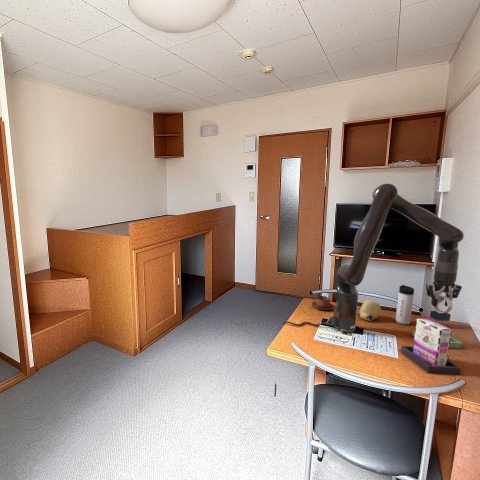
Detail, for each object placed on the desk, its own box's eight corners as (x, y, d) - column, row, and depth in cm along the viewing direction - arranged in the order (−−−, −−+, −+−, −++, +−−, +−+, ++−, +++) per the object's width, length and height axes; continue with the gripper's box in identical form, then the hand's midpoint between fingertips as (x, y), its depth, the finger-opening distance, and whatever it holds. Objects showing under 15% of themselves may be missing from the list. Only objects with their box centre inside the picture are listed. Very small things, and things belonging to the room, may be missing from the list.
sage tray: (429, 347, 144) (429, 341, 143) (411, 335, 155) (412, 330, 155) (461, 348, 142) (462, 343, 142) (441, 336, 154) (442, 331, 153)
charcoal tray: (427, 372, 124) (428, 366, 124) (400, 351, 140) (401, 345, 140) (460, 374, 123) (461, 368, 123) (428, 352, 139) (429, 346, 139)
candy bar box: (447, 367, 126) (452, 329, 124) (435, 368, 126) (441, 329, 123) (421, 353, 137) (426, 317, 135) (411, 353, 137) (415, 318, 134)
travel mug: (404, 320, 172) (408, 285, 169) (412, 325, 166) (417, 289, 163) (392, 319, 173) (396, 284, 170) (400, 325, 167) (404, 288, 163)
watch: (436, 315, 151) (440, 293, 149) (453, 322, 143) (457, 299, 141) (425, 315, 151) (429, 293, 149) (441, 322, 143) (445, 299, 141)
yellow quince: (359, 321, 180) (351, 312, 175) (368, 304, 182) (361, 294, 177) (377, 327, 171) (369, 318, 166) (387, 309, 173) (379, 299, 169)
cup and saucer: (313, 302, 199) (314, 293, 198) (335, 306, 192) (336, 297, 191) (309, 309, 189) (310, 299, 188) (332, 313, 182) (333, 303, 181)
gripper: (456, 268, 146) (451, 303, 149) (422, 268, 147) (418, 302, 150) (470, 273, 139) (464, 309, 141) (435, 272, 140) (429, 308, 143)
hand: (440, 306), depth 146 cm, fingers closed on watch, 4 cm apart
